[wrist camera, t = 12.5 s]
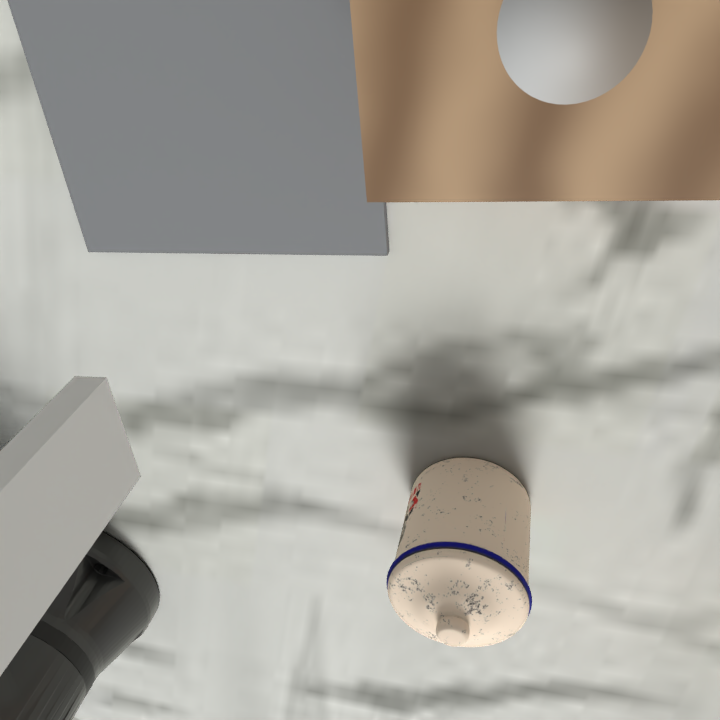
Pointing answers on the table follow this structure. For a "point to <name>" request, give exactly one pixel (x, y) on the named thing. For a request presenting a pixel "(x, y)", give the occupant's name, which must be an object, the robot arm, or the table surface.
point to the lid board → (519, 135)
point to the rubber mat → (205, 124)
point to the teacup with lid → (464, 555)
